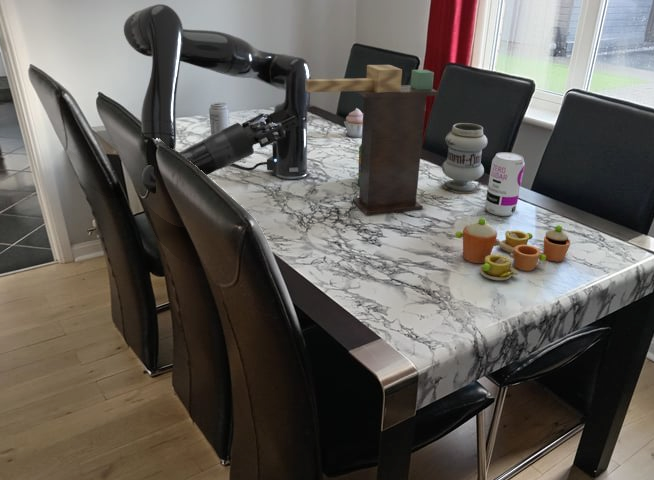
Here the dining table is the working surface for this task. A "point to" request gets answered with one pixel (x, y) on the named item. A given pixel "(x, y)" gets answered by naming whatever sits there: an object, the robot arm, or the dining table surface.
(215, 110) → the energy drink can
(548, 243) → the toy tea set
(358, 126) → the cupcake
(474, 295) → the dining table surface
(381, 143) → the stand
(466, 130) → the apothecary jar
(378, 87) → the mallet
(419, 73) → the block
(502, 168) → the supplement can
